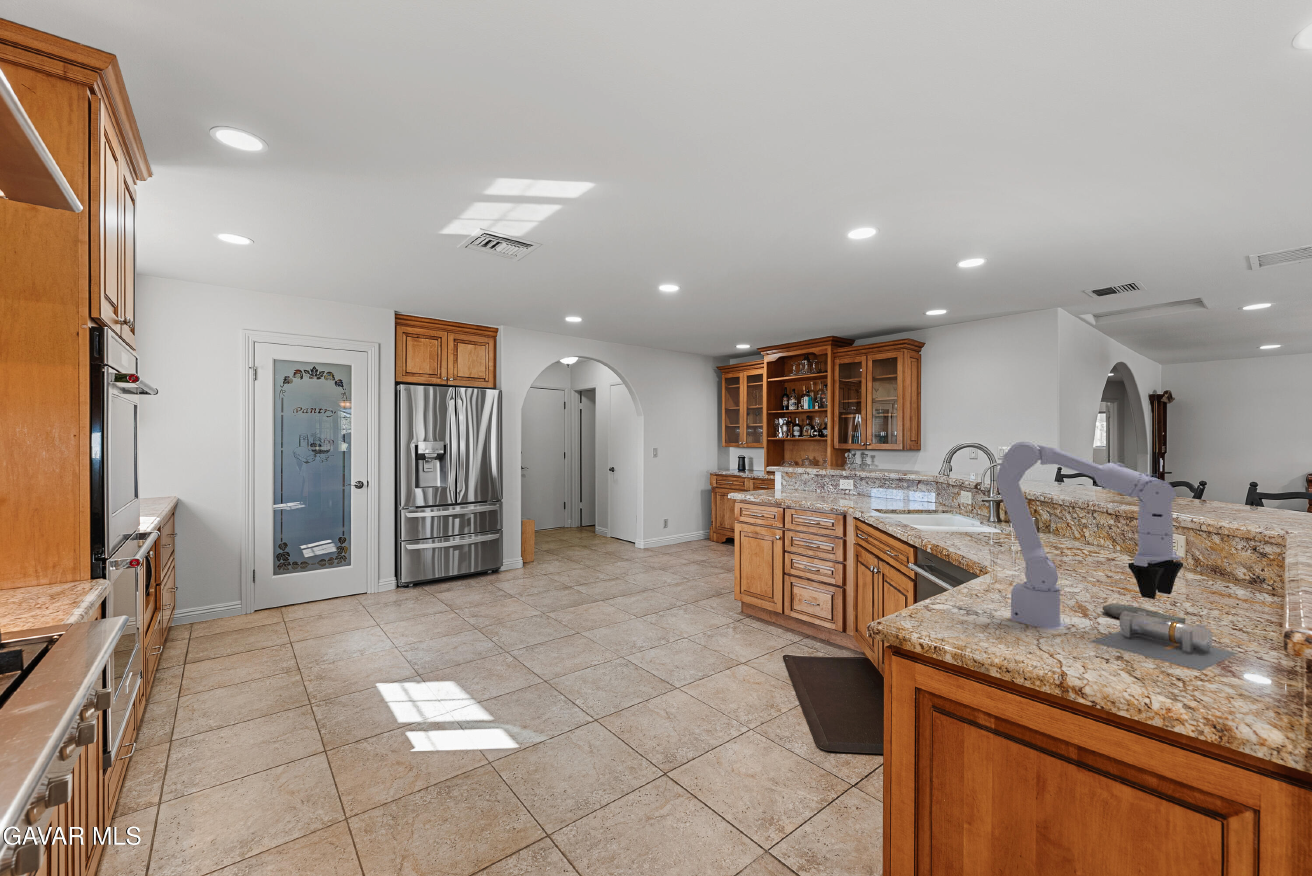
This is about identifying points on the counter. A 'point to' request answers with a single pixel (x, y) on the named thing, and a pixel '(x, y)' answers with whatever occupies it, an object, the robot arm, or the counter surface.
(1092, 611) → the counter surface
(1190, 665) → the board
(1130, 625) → the collar
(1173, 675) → the counter surface
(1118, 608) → the stone
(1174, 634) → the tube
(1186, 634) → the collar
